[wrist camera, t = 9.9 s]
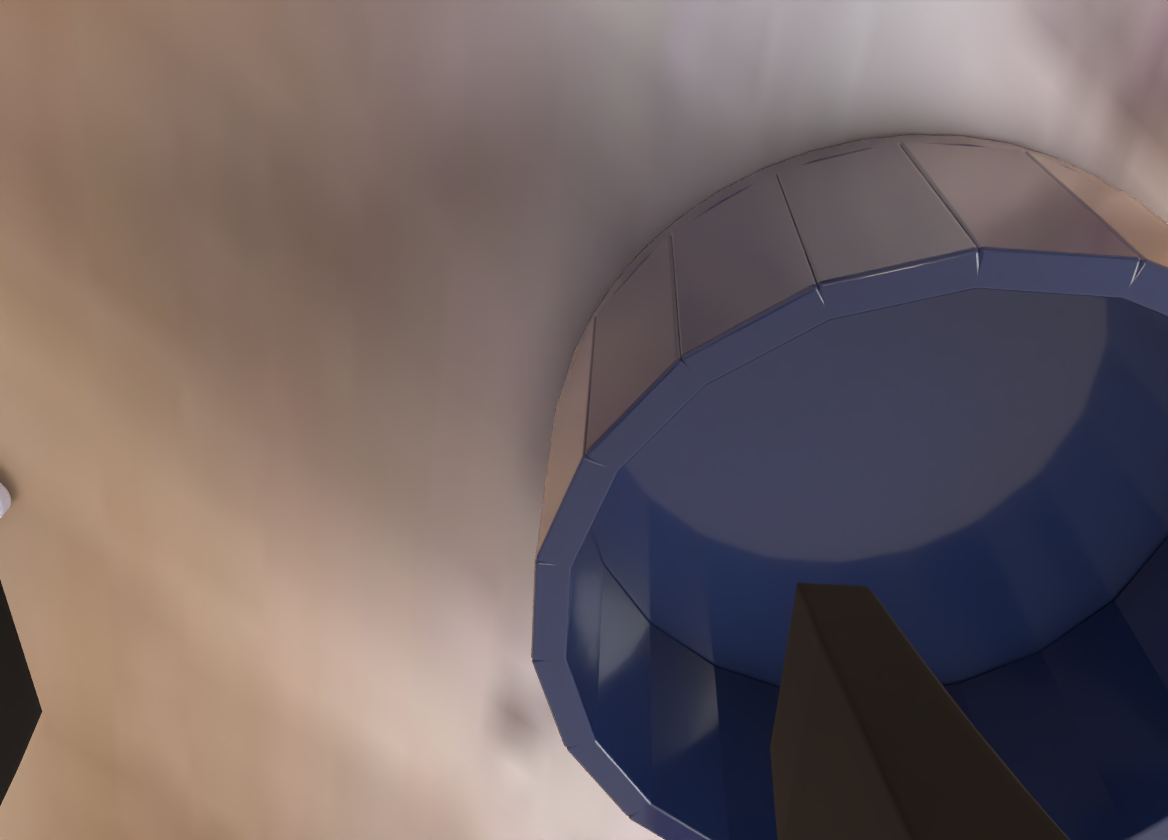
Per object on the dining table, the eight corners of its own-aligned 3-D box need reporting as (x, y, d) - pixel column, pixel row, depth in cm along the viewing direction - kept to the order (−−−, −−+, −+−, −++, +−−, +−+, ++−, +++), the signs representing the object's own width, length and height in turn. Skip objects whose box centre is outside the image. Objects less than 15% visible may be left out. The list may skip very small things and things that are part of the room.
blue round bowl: (427, 361, 20) (364, 527, 15) (1079, -23, 16) (1254, 48, 11) (746, 763, 25) (771, 978, 20) (1301, 544, 21) (1483, 748, 16)
